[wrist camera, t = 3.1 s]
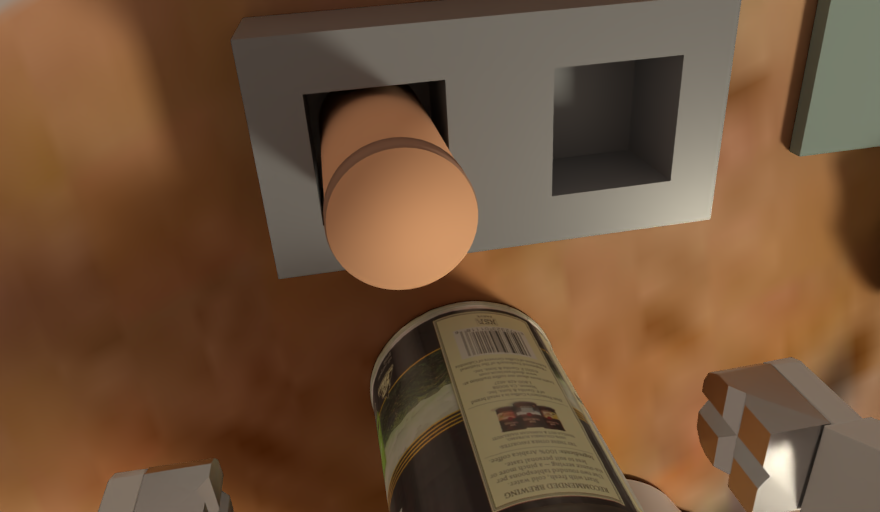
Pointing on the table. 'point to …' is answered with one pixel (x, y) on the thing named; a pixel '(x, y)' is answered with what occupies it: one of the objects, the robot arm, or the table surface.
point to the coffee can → (487, 420)
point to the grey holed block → (503, 109)
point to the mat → (840, 80)
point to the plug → (392, 189)
